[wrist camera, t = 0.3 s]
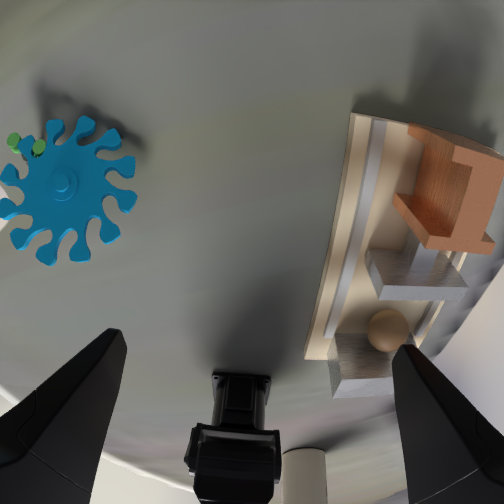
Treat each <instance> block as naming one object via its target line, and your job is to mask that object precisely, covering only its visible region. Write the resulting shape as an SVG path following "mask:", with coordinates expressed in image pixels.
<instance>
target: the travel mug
mask: <svg viewBox="0 0 504 504" xmlns="http://www.w3.org/2000/svg"><path fill="white" fill-rule="evenodd" d="M282 504H328V500H327V480H326V463H325V452H324V451H322V450H319V449H314V448H302V449H295V450H291V451H289V452H287V453H285V454H283V455H282Z"/></svg>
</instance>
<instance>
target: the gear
mask: <svg viewBox="0 0 504 504" xmlns="http://www.w3.org/2000/svg"><path fill="white" fill-rule="evenodd" d="M95 129H96V125H95V121H94V120H92V119H91V118H89V117H87V116H84V115H83V116H81V117H80V118H79V119H78V121H77V126H76V129H75V131H74V133H73V134H72V136H71V137H70V138H69V139H68V140H67V141H66V142H65V143H64V144H62V145H60V146H57V145H55V142H56V140H57V139H58V138H59V137H60V136H61V135H62V134H63V133H64V131H65V126H64V123H63V120H60V119H54V120H49V121H48V122H47V124H46V131H47V135H48V140H47V144H46V142H45V141H44V140H41V139H40V140H37V141H35V139H34V137H33V136H32V135H29V136H27V137H25V138H24V139H21V137H20V136H19V134H18V133H12V134H11V135H9V137H8V139H7V144H8V146H9V147H10V148H11V149H12V151H13V152H14V153H20V152H21V153H22V158H23V159H24V161H25V162H26V163H27V164H28V166H29V173H28V175H27V177H26V178H24V179H22V180H20V179H19V172H18V170H17V169H16V168H15V167H14V165H12V164H7V165H6V167H5V168H4V170H3V171H2V173H1V175H0V180H1V181H2V182H3V183H4V184H6V185H7V186H16V187H19V188H20V189H21V190H22V191H23V193H24V195H25V198H24V201H23V203H22V204H21V205H19V206H16V205H15V204H14V203H13V202H12V201H11V200H9V199H8V198H2V199H1V200H0V218H2V219H4V220H10V219H11V218H13V217H15V216H17V215H20V214H26V215H31V216H32V217H33V224H32V226H31V227H30V228H29V229H27V230H24V229H20V228H16V229H14V230H12V232H11V233H10V237H11V241H12V243H13V245H14V246H15V248H16V249H17V250H24V249H26V248H27V246H28V245H29V243H30V241H31V240H32V238H33V237H34V236H35V235H37V234H38V233H40V232H42V231H45V230H48V229H49V230H51V231H52V234H53V237H52V240H51V242H50V243H48V244H46V245H43V246H41V247H40V248H39V249H38V250H37V252H36V258H37V259H38V260H39V261H40V262H42V263H44V264H46V265H48V266H53V265H54V264H55V263H56V261H57V251H58V247H59V244H60V242H61V240H62V239H63V237H64V236H65V235H66V234H67V233H68V232H69V231H71V230H74V231H76V232H77V234H78V239H77V242H76V243H75V244H74V245H73V246H72V248H71V249H70V253H69V256H70V260H71V261H75V262H87V261H89V260H90V258H91V253H90V250H89V248H88V246H87V243H86V229H87V225H88V222H89V221H90V220H91V219H92V218H99V219H100V220H101V221H102V225H101V229H100V238H101V240H102V241H103V242H104V243H105V244H110V243H112V242H114V241H115V240H116V239H118V238H119V237H120V236H121V235H120V230H119V228H118V226H117V225H116V224H114V223H112V222H111V221H110V220H109V219H108V218H107V217H106V215H105V213H104V210H103V206H102V201H103V199H104V198H105V197H106V196H110V195H111V196H114V197H115V198H116V200H117V203H118V206H119V209H120V210H121V211H122V212H124V213H129V212H130V211H131V210H132V208H133V207H134V205H135V203H136V200H137V195H136V193H135V192H133V191H130V190H121V189H118V188H116V187H114V186H112V185H111V184H110V183H109V182H108V181H107V180H106V179H105V175H106V174H107V173H108V172H109V171H112V170H114V171H117V172H118V173H119V174H120V175H121V176H122V177H124V178H127V179H130V178H133V176H134V173H135V157H133V156H125V157H123V158H121V159H118V160H114V161H108V160H103V159H99V158H97V157H96V154H97V152H98V151H100V150H102V149H106V150H110V151H115V150H117V149H119V148H120V147H121V138H120V135H119V134H118V132H117V131H116V129H115V128H113V129H110V130H108V131H107V132H106V133H105V134H104V135H103V136H102V137H101V138H100V139H99V140H97V141H96V142H94V143H91V144H89V145H85V146H79V145H78V141H79V140H80V139H81V138H83V137H87V136H90V135H91V134H93V133H94V131H95Z"/></svg>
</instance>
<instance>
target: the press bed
mask: <svg viewBox="0 0 504 504" xmlns="http://www.w3.org/2000/svg"><path fill="white" fill-rule="evenodd" d="M408 127H409V124H407V123H403V122H399V121H394V120H389V119H385V118H380V117H374V116H369V115H364V114H358V113H352V112H351V115H350V123H349V130H348V137H347V144H346V151H345V158H344V164H343V170H342V176H341V182H340V188H339V194H338V200H337V205H336V211H335V216H334V221H333V226H332V231H331V236H330V241H329V246H328V251H327V255H326V260H325V265H324V269H323V274H322V278H321V282H320V287H319V291H318V295H317V299H316V304H315V308H314V312H313V316H312V320H311V324H310V327H309V331H308V335H307V339H306V343H305V346H304V360H327V351H328V348H329V346H330V343H331V340H332V338H333V336H334V333H367V329H368V325H369V322H370V320H371V319H372V317H373V316H374V315H375V314H376V313H378V312H380V311H382V310H385V309H394V310H397V311H399V312H400V313H402V314H403V315H404V316H405V318H406V319H407V322H408V325H409V332H412V335H413V337H414V340H415V342H416V345H417V348H418V347H419V346H420V344H421V342H422V341H423V339H424V337H425V336H426V334H427V332H428V331H429V329H430V327H431V325H432V324H433V322H434V320H435V318H436V316H437V315H438V313H439V311H440V309H441V307H442V305H443V303H444V301H411V300H378V297H377V295H376V292H375V289H374V287H373V284H372V282H371V279H370V277H369V274H368V271H367V269H366V267H365V264H364V261H365V257H366V254H367V250H368V249H379V250H392V251H403V249H404V246H405V243H406V240H407V237H408V234H409V230H410V227H409V225H408V224H407V223H406V221H405V220H404V219H403V217H402V216H401V215H400V213H399V212H398V211H397V209H396V208H395V207H394V205H393V204H392V202H393V198H394V194H395V193H401V194H407V195H413V193H414V189H415V185H416V181H417V177H418V173H419V169H420V164H421V160H422V155H423V150H424V146H425V144H424V143H422V142H420V141H419V140H417V139H415V138H414V137H412V136H410V135H408V134H407V133H408ZM485 147H486V146H485ZM487 148H489V147H487ZM489 149H491V150H493V151H495V150H494V149H492V148H489ZM495 152H496V153H498V154H500V153H499V152H497V151H495ZM438 254H442V255H447V257H448V258H449V260H450V261H451V262H452V264H453V265H454V267H455V268H456V270H457V271H458V272H459V270H460V268H461V266H462V264H463V261H464V259H465V257H466V254H467V252H456V251H445V250H439V252H438Z"/></svg>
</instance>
